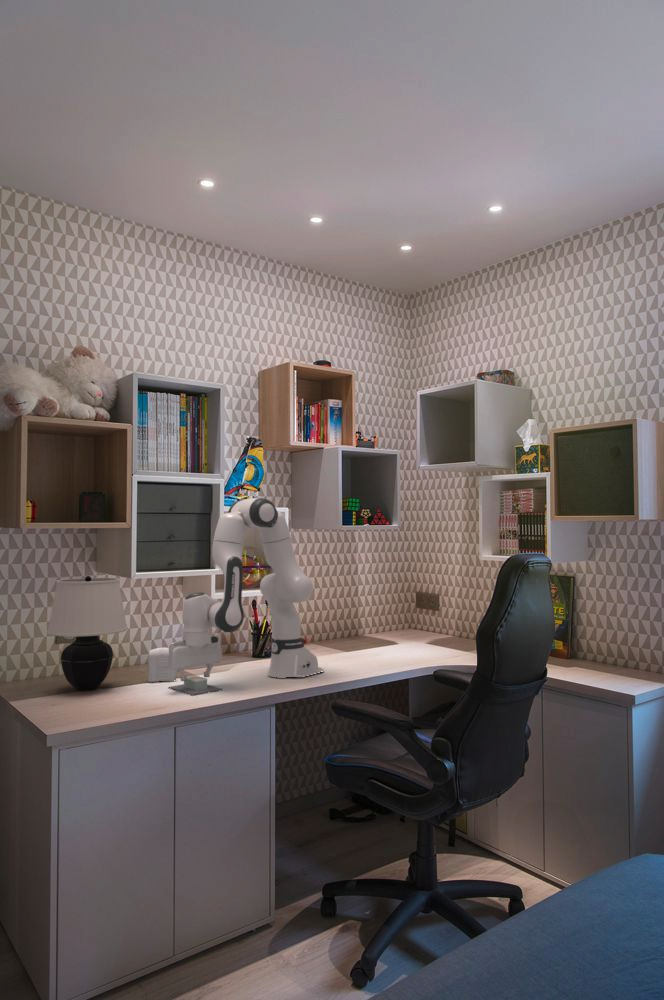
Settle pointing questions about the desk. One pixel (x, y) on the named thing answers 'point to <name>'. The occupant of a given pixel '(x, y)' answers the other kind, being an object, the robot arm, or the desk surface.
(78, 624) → the table lamp
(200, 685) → the card box
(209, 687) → the desk mat
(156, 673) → the white upright rounded block
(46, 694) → the desk surface
